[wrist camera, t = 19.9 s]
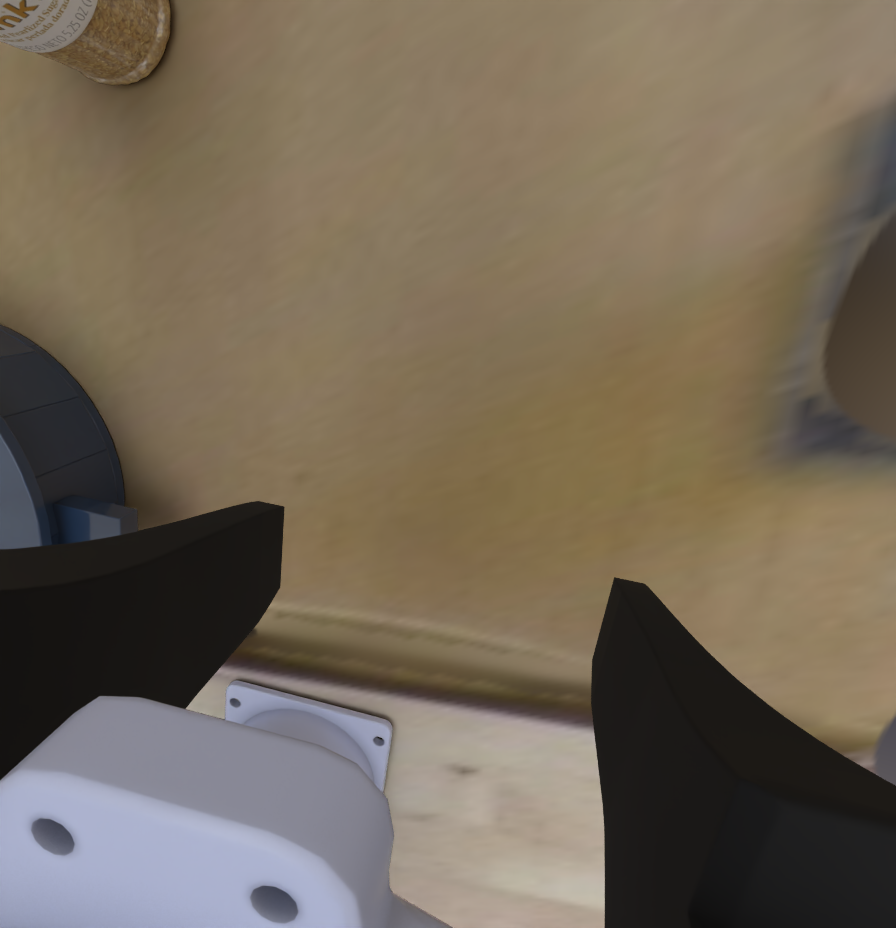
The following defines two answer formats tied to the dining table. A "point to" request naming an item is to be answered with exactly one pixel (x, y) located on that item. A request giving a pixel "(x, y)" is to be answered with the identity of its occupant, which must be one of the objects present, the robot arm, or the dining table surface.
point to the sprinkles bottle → (91, 34)
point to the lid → (20, 498)
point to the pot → (62, 444)
